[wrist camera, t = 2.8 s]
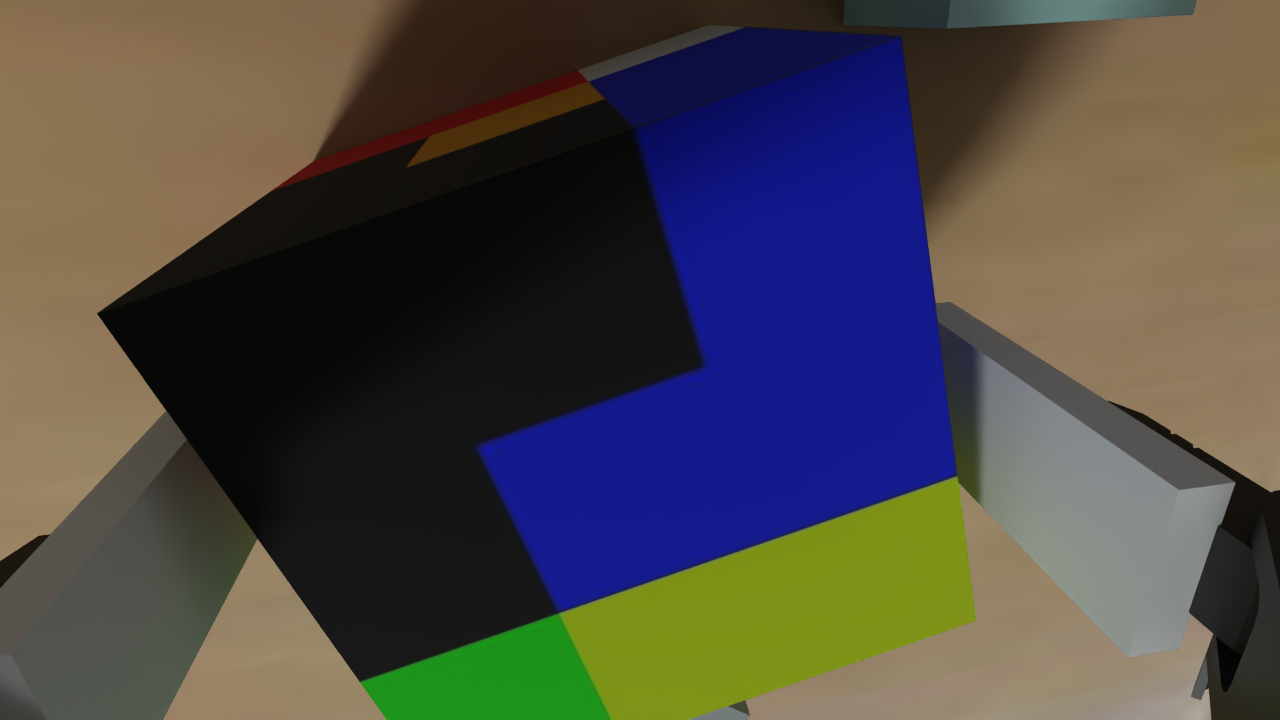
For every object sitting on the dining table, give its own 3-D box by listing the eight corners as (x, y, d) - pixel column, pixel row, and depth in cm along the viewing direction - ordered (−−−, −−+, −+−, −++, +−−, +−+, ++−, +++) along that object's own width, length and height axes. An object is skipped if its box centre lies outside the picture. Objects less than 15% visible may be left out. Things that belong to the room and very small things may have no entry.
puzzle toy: (708, 24, 18) (901, 35, 9) (791, 373, 22) (976, 620, 13) (314, 160, 18) (97, 314, 9) (477, 482, 22) (446, 802, 13)
